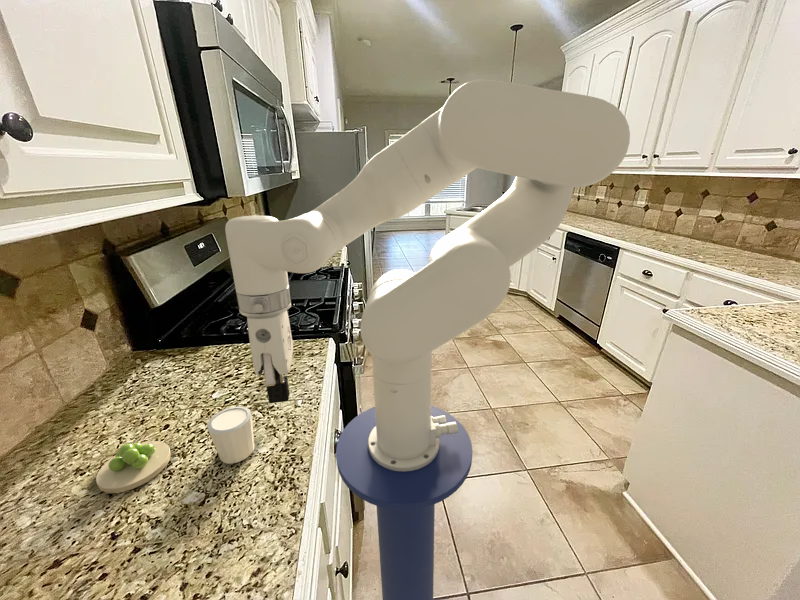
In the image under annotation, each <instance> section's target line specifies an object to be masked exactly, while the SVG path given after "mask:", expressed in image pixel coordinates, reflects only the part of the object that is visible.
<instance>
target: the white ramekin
mask: <svg viewBox="0 0 800 600" xmlns="http://www.w3.org/2000/svg"><path fill="white" fill-rule="evenodd" d="M206 427H207V431H208V433H209V435H210V438H211V440H212V443H213V445H214V447H215V450H216V452H217V455H218V458H219V459H220V461H221V462H222V463H224V464H227V465H228V464H229V465H232V464H236V463H239V462H242V461H244V460H245V459H247V458H249V457H250V456H251V455H252V453H253V452H254V449H255V435H254V424H253V414H252V411H251V409H250V408H248V407H246V406H231V407H228V408H225V409H223V410H220V411H219V412H217V413H215V414H214V415H212V417H211V418H210V419H209V420H208V422H207V425H206Z"/></svg>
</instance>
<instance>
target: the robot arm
mask: <svg viewBox="0 0 800 600" xmlns="http://www.w3.org/2000/svg"><path fill="white" fill-rule="evenodd" d="M630 131H631V130H630V125H629V123H628V120H627V117H626V116H625V115H624V114H623V112H622V110H620V109H619V108H618V107H617V106H615V104H613V103H611V102H609V101H607V100H605V99H602V98H599V97H595V96H590V95H586V94H579V93H574V92H568V91H563V90H556V89H550V88H545V87H540V86H535V85H529V84H524V83H519V82H512V81H507V80H501V79H500V80H499V79H492V78H491V79H490V78H482V79H474V80H471V81H468V82H465V83H463V84H462V85H460V86H459V87H457V88H456V89H455V90H453V92H452V93H451V94H450V95H449V96H448V98H447V99H446V101H445V103H444V104H443V106H442V107H441V108H439V109H438V110H437V111H435V112H434V113H432V114H431V115H429V116H428V117H427V118H426V119H424V120H422V121H421V122H420V123H419V124H418V125H415V126H414V127H413V128H412V129H411V130H409V131H408V132H406V133H405V134H404V135H402V136H400V138H397V140H395V141H394V142H392V143H391V144H389V145H387V146H386V147H384V148H383V149H381V150H380V151H379V152H378V153H376V154H375V155H373V156H372V157H371V158H370V159H369V160H368V161H367V162H366V163H365V164H364V166H363V167H362V169H360V171H359V173H358V174H357V176H356V177H354V179H353V180H352V181H350V182H349V183H348V184H347V185H346V186H345V187H343V188H342V189H340V191H338V192H336V193H335V194H334V195H332V196H331V197H330V198H328V199H327V200H325V201H324V202H323V203H320V205H318V206H317V207H315V208H314V209H312V210H311V211H309V212H306V213H302V214H301V215H298V216H295V217H293V218H289V219H284V220H283V219H281V220H279V219H278V218H276V217H274V216H270V215H243V216H237V217H233V218H230V219H229V220H227V221H226V223H225V227H224V230H225V231H224V233H225V239H226V245H227V249H228V255H229V261H230V266H231V267H230V268H231V271H232V277H233V282H234V283H233V284H234V288H235V295H236V299H237V305H238V311H239V314H240V315H242V316H244V317H246V321H247V332H248V340H249V347H250V353H251V360H252V361H251V362H252V366H253V370H254V374H255V375H256V377H258V378H261V377H262V374H263V376H264V379H265V380H264V382H265V387H266V392H267V393H266V394H267V399H268V403H269V404H275V403H276V404H277V403H285V402H288V401H289V400H290V399H289V398H290V387H289V381H288V376H287V374H289V372H290V370H291V364H292V360H293V354H294V342H293V335H292V330H291V329H292V328H291V323H290V318H289V312H288V310H289V309H290V308H292V301H291V300H292V298H291V292H290V291H291V290H290V284H289V283H290V282H289V275H288V272H289V273H293V274H309V273H314V272H316V271H318V270H319V269H321V268H322V267H323V266H324V265H326V263H327V262H328V261H329V260H330V259H331V258H332V257H333V256H334V255H335V254H336V253H338V252H339V251H341V250H342V249H343V248H344V247H346V246H348V245H349V244H350V243H352V242H354V241H355V240H356V239H358V238H359V237H361V236H363V235H364V234H366V233H367V232H369V231H370V230H373V229H374V228H375V227H377V226H379V225H381V224H383V223H386V222H389V221H392V220H396V219H399V218H401V217H403V216H405V215H407V214H409V213H411V212H412V211H415V210H416V208H418V207H420V206H421V205H423V204H424V203H426V202H427V201H428V200H430V199H432V198H433V197H435V196H436V195H438V194H439V193H441V192H442V191H445V189H447V188H449V187H450V186H452V185H453V184H455V183H456V182H457V181H459V180H461V179H462V178H464V177H465V176H467V175H468V174H471V172H474V170H476V169H479V170H484V171H488V172H493V173H497V174H503V175H507V176H513V177H515V178H514V180H513V183H512V184H511V186H510V187H509V188H508V190H507V191H505V193H503V194H502V196H501V197H499V198H498V199H497V200H495V201H494V202H493V203H492V204H490V205H489V206H488V207H487V208H485V209H484V210H482V211H481V212H479V213H478V214H476V215H475V216H473V217H472V218H470V219H469V220H468V221H466V222H464V223H463V224H462V225H460V226H459V227H457V228H455V229H454V230H452V231H451V232H449V233H448V234H446V235H444V236H443V237H442V238H440V239H439V240H438V241H437V242H436V243H435V245H434V246H433V247H432V249H431V251H430V254H429V257H428V258H429V259H428V264H427V265H425V266H424V267H422V268H421V269H419V270H418V271H417V272H415V271H412V270H409V269H405V268H400V269H399V268H397V269H393V270H389V271H387V272H385V273H383V274H382V275H381V276H380V277H379V278H378V279H376V281H375V282H374V284H373V285H372V286H371V287H372V288H371V289H370V292H369V295H368V297H367V300H366V304H365V306H364V309H363V311H362V315H361V318H360V337H361V341H362V343H363V346H364V347H365V349H366V350H367V351H368V352H369V354H370V355H371V360H372V361H371V362H372V378H373V379H372V380H373V397H374V407H375V415H376V426H375V427H374V428H373V430H372V431H371V433H370V435H369V439H368V446H369V452H370V454H371V456H372V458H373V459H374V460H375V461H376V462H377V463H378V464H379V465H381V466H383V467H385V468H387V469H390V470H394V471H403V472H406V471H413V470H417V469H420V468H422V467H424V466H426V465H428V464H429V463H430V462H431V461H432V460H433V459H434V458H435V457H436V455H437V453H438V451H439V443H440V441H439V438H441V435H445V434H448V435H449V434H455V433H458V427H457V424H456V422H450V423H446V417H445V415H443V416H438V417H432V416H431V405H432V370H433V369H432V364H433V363H432V362H433V361H432V360H433V358H432V357H433V353H432V352H434V351H435V350H437V349H438V348H440V347H441V346H443V345H445V344H447V343H448V342H451V341H452V340H453V339H455V338H457V337H458V336H460V335H462V334H463V333H465V332H466V331H468V330H470V329H471V328H473V327H474V326H476V325H478V324H479V323H481V322H482V321H484V320H486V319H488V317H490V316H491V315H492V314H493V313H494V312H495V311H496V310H497V309H498V308H499V307H500V306H501V304H502V303H503V302H504V300H505V298H506V297H507V295H508V292H509V290H510V286H511V269H510V268H511V267H512V266H513V265H515V264H516V263H518V262H519V261H520V260H522V259H523V258H524V257H526V256H528V255H529V254H531V253H532V252H533V251H535V250H536V249H537V248H539V247H540V246H541V245H543V244H544V243H545V242H546V241H547V240H548V239H550V237H552V236H553V234H554V233H555V232H556V231H557V230H558V229H559V227H560V225H561V224H562V222H563V220H564V218H565V216H566V213H567V211H568V209H569V206H570V204H571V201H572V196H573V193H574V188H586V187H589V186H592V185H595V184H597V183H600V182H602V181H604V180H605V179H606V178H608V177H609V176H611V174H613V173H614V172H615V171H616V170H617V169H618V168H619V166H620V165H621V163H622V162H623V161H624V159H625V157H626V155H627V153H628V150H629V147H630V143H631V142H630V141H631V139H630V138H631V132H630ZM443 423H445V424H443ZM439 424H442V425H439Z"/></svg>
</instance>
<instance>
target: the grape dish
mask: <svg viewBox="0 0 800 600" xmlns="http://www.w3.org/2000/svg"><path fill="white" fill-rule="evenodd" d="M171 456H172V451H171V449H170V446H169V445H168V444H167V443H165V442H164V441H159V440H152V441H151V440H149V441H145V442H141V443H140V442H134V443H124V444H123V445H121V446H120V447H119V449H118V450H117V451H116V452H115V455H113V456H112V457H111V458H109V459H108V460H107V461H106V462H105V463H104V464H103V465H102V466H101V467H100V468H99V470H98V472H97V473H96V476H95V482H96V485H97V487H98V489H99V490H100V491H102V492H103V493H106V494H118V493H119V494H121V493H125V492H128V491H130V490H133V489H136V488H138V487H140V486H142V485H144V484H146V483H148V482H149V481H151V480H153V479H154V478H155V477H157V476H158V475H159V474H160V473H161V472H162V471H163V470H164V469H165V468H166V467H167V466H168V464H169V462H170V460H171V458H172V457H171Z"/></svg>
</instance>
